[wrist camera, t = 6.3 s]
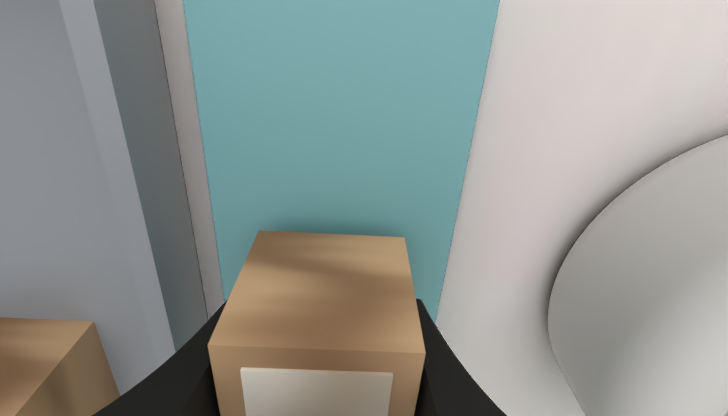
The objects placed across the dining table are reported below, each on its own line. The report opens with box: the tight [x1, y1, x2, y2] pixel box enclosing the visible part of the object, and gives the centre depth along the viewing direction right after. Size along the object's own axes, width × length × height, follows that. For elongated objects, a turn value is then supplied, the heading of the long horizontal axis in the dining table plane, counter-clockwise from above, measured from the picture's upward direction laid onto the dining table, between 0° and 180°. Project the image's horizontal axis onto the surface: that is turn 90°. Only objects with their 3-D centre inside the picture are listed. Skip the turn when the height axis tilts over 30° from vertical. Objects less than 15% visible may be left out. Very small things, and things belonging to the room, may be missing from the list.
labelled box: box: [208, 230, 426, 416], centre depth 12 cm, size 5×5×5 cm
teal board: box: [183, 0, 500, 324], centre depth 16 cm, size 9×20×1 cm, turn 176°
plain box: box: [0, 317, 120, 416], centre depth 16 cm, size 5×5×5 cm
